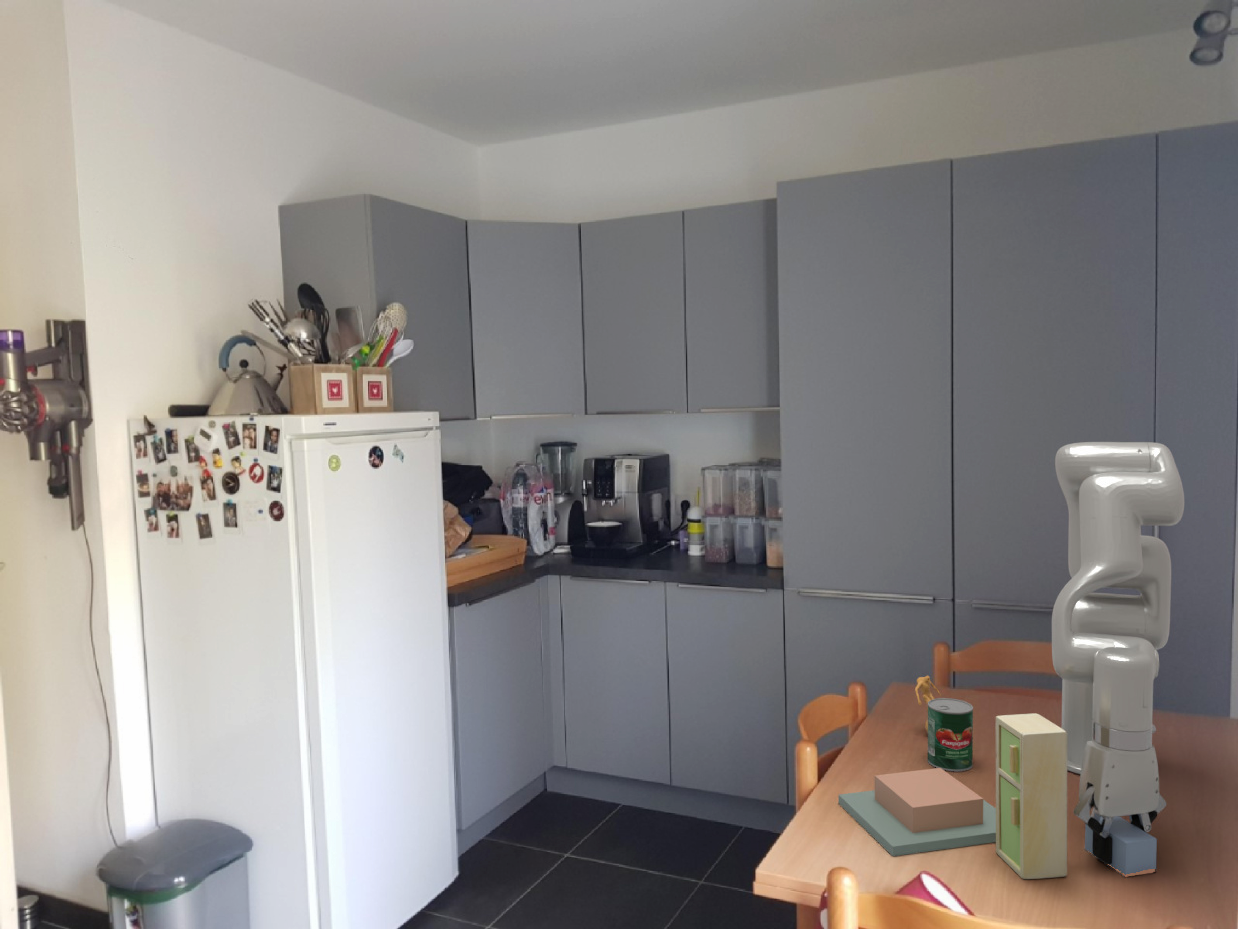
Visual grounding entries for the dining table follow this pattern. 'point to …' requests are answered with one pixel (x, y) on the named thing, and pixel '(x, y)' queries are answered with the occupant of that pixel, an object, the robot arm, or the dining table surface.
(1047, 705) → the dining table surface
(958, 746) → the canned tomato
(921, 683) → the figurine
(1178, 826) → the dining table surface
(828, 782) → the dining table surface
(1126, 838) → the slate brick
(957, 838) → the block on teal plate
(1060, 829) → the toy refrigerator
